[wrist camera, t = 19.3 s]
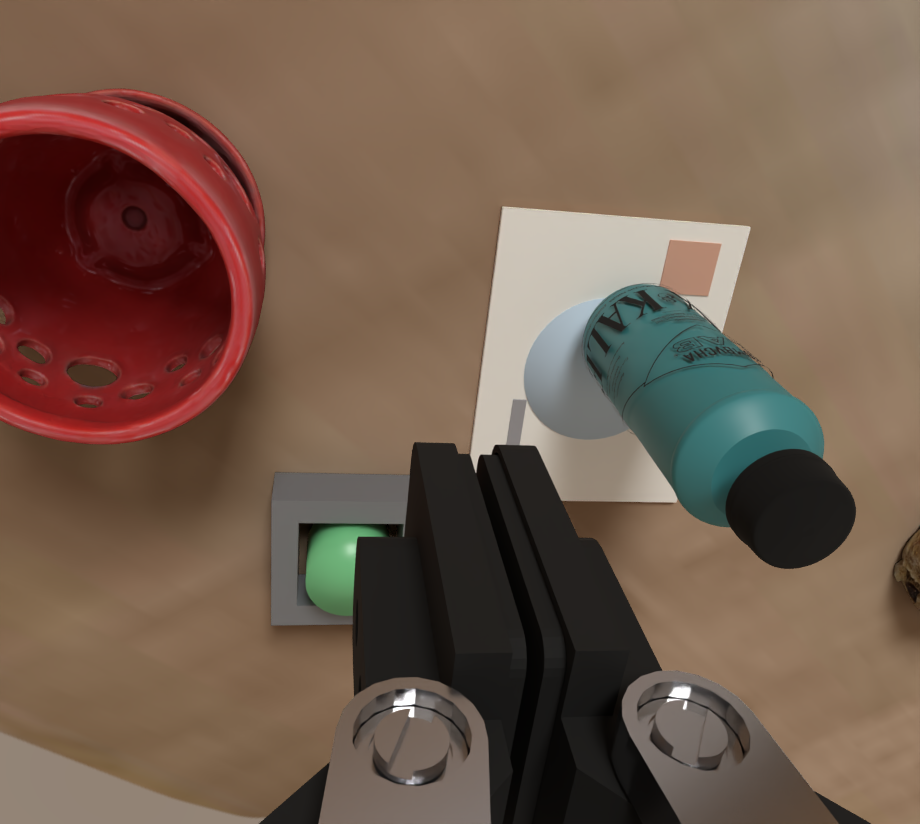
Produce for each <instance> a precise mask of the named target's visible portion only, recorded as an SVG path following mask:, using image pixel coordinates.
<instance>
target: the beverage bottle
mask: <svg viewBox="0 0 920 824" xmlns="http://www.w3.org/2000/svg"><path fill="white" fill-rule="evenodd" d="M651 284H655V283H642V284H635V285H630V286H627V287H624V288H621V289H619V290H617V291H615V292H613V293H612V294H610V295H609V296H608V297H606V298H605V299H604V300H603V301H602V302H601V303H600V304H599V305H598V306H597V307H596V308H595V310H594V311H593V313H592V314H591V316H590V318H589V320H588V322H587V325H586V328H585V331H584V335H583V337H584V338H583V340H582V343H583V350H584V357H585V358H584V359H585V360H586V361H585V362H587V365H588V366H589V367H588V368H590V370H591V371H592V373H593V374H594V377H595V378H596V380H598V382H599V383H600V385H601V386H602V387H601V388H602V389H601V390H602V391H603V389H604V391H603V393H604V395H605V392H606V395H607V396H608V398H610V402H611V401H612V402H611V403H613V404H614V406H615V407H616V408H615V407H614V406H613V407H614V408H615V409H617V410H618V412H619V414H618V415H621V416H622V422H624V421H625V422H626V423H627V425H628V427H629V428H630V429H631V430H632V431H633V432H634V433H635V434H634V435H636V436H637V438H638V439H639V441H640V442H641V443H642V445H643V446H644V448H645V449H646V451H647V452H648V454H649V455H650V456H651V458H652V459H653V461H654V462H655V464H656V465H657V467H658V468H659V470H660V471H661V472H662V474H663V475H664V477H665V478H666V480H667V481H668V483H669V484H670V485H671V487H672V488H673V490H674V492H675V494H676V496H677V498H678V500H679V501H680V503H681V504H682V506H683V507H684V508H685V509H686V510H687V511H688V512H689V513H690V514H691V515H693V516H694V517H696V518H697V519H699V520H701V521H703V522H706V523H708V524H711V525H715V526H720V527H731V529H732V530H733V531H734V532H735V534H736V535H737V536H738V537H739V538H740V540H741V541H743V542H744V543H745V544H746V545H748V546H749V547H750V548H751V550H752V551H753V552H754V553H755V554H756V555H757V556H758V557H759V558H760V559H761V560H763V561H764V562H766V563H768V564H769V565H771V566H774V567H778V568H784V569H794V568H801V567H805V566H808V565H812V564H814V563H816V562H818V561H820V560H822V559H824V558H826V557H827V556H829V555H830V554H831V553H833V552H834V551H835V550H836V549H837V548H838V547H839V546H840V545H841V544H842V543H843V542H844V541H845V539H846V538H847V536H848V535H849V533H850V531H851V529H852V527H853V524H854V521H855V516H856V507H855V502H854V499H853V497H852V495H851V493H850V491H849V490H848V488H847V487H846V486H845V485H844V484H843V483H842V481H841V480H840V479H839V478H838V477H837V476H836V474H835V472H834V471H833V469H832V468H831V467H830V466H829V465H828V464H827V463H826V462H825V461H824V460H823V453H824V438H823V432H822V429H821V426H820V424H819V422H818V419H817V418H816V416H815V415H814V413H813V412H812V411H811V410H810V408H809V407H808V406H807V405H805V404H804V403H803V402H802V401H800V400H799V399H797V398H795V397H794V396H792V395H791V394H790V393H789V392H788V391H787V390H785V389H784V388H783V387H782V386H781V385H780V384H779V383H777V382H776V381H775V380H774V378H772V377H773V374H772V377H771V376H770V375H769V374H768V373H767V372H766V371H765V370H764V369H763V368H762V367H760V366H759V365H761V364H757V363H756V362H755V361H753V360H752V359H751V358H752V356H751V354H749V353H750V352H748V351H747V352H748V354H749V355H750V356H751V358H750V356H749V355H748V354H747V353H746V352H745V351H742V350H741V349H739V348H738V347H737V346H736V345H735V344H734V342H733V343H732V340H731V341H730V340H729V339H728V338H727V337H725V336H724V335H725V334H724V335H723V333H721V331H720V330H719V329H718V328H717V327H716V326H715V325H716V324H715V323H713V322H711V320H709V319H708V318H709V317H708V318H707V317H706V315H705V314H704V313H703V314H704V315H703V314H702V313H701V311H700V310H698V309H697V308H696V307H695V306H694V305H692V304H691V302H690V301H688V300H687V299H686V300H687V301H686V300H685V299H683V298H682V297H680V296H679V295H677V294H676V293H675V292H672V291H670V290H668V289H669V288H668V289H666V288H665V287H661V286H656V285H651ZM659 285H661V284H659ZM673 291H674V290H673ZM677 293H678V292H677ZM679 294H680V293H679ZM683 297H684V296H683ZM684 298H685V297H684ZM685 301H686V302H687V303H689V305H688V304H687V303H686V302H685ZM691 305H692V306H693V307H694V309H695V308H696V310H698V311H699V312H700V313H701V314H702V315H703V316H704V318H703V317H702V316H701V315H700V314H699V313H698V312H696V310H694V309H693V308H692V307H691ZM705 318H706V319H707V320H708V321H709V322H710V323H711V324H710V323H709V322H708V321H707V320H706V319H705ZM714 324H715V325H714ZM726 336H727V335H726ZM737 344H738V343H737ZM739 345H740V344H739ZM741 347H742V346H741ZM742 348H744V347H742ZM745 353H746V354H747V355H746V354H745ZM582 355H583V354H582ZM753 357H754V356H753ZM753 359H755V358H753ZM755 360H756V359H755ZM756 361H759V360H758V359H757V360H756ZM584 364H585V363H584ZM762 366H764V365H762ZM768 369H769V368H768ZM590 370H589V372H590ZM769 370H770V369H769ZM587 371H588V370H587ZM590 373H591V372H590ZM771 373H772V372H771ZM591 375H592V374H591ZM592 378H593V377H592ZM598 382H597V383H598ZM621 416H620V417H621ZM623 420H624V421H623ZM620 421H621V420H620ZM625 422H624V423H625ZM622 424H623V423H622ZM630 433H631V432H630ZM632 434H633V433H632Z"/></svg>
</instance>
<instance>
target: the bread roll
mask: <svg viewBox="0 0 920 824" xmlns="http://www.w3.org/2000/svg"><path fill="white" fill-rule="evenodd" d="M894 575H895V578H896V580H897V582H898V581H902V582H903V585H904V587H905V588H906V590H907V592H908V594H909V596H910V597H911V600H912V601H913V603H914V604H915V606H916V607H917V608H918V609H919V611H920V529H919V530H918V531H917V532H916V533H915V534H914V535H913V536H912V537H911V539H910V540H909V541H908V543H907V544H906V546H905V548H904V550H903V554H902V559H901V560H900V561H899V562H898V563H896V564H895V568H894Z"/></svg>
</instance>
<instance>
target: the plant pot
mask: <svg viewBox="0 0 920 824" xmlns="http://www.w3.org/2000/svg"><path fill="white" fill-rule="evenodd" d="M264 241H265V217H264V210H263V205H262V201H261V197H260V193H259V190H258V187H257V184H256V182H255V179H254V177H253V175H252V173H251V171H250V169H249V167H248V165H247V163H246V162H245V160H244V159H243V157H242V156H241V154H240V153H239V151H238V150H237V149H236V148H235V146H234V145H233V144H232V143H231V142H230V141H229V140H228V138H227V137H226V136H225V135H224V134H223V133H222V132H221V131H220V130H218V129H217V128H216V127H215V126H214V125H213V124H211V123H210V122H209V121H208V120H206V119H205V118H203V117H202V116H200V115H199V114H198V113H196V112H194V111H193V110H191V109H189V108H187V107H185V106H184V105H182V104H180V103H177V102H175V101H173V100H171V99H168V98H165V97H162V96H159V95H156V94H152V93H148V92H143V91H138V90H131V89H105V90H97V91H92V92H88V93H71V94H55V95H45V96H34V97H24V98H19V99H15V100H10V101H7V102H3V103H0V307H1V309H2V310H3V312H4V314H5V317H6V323H5V324H1V323H0V420H1V421H3V422H5V423H7V424H9V425H11V426H14V427H16V428H19V429H22V430H24V431H27V432H30V433H34V434H37V435H40V436H44V437H47V438H52V439H56V440H60V441H67V442H76V443H84V444H120V443H127V442H134V441H140V440H144V439H147V438H151V437H154V436H157V435H160V434H163V433H166V432H168V431H171V430H173V429H175V428H177V427H179V426H181V425H183V424H185V423H187V422H189V421H190V420H192V419H193V418H195V417H196V416H198V415H199V414H201V413H202V412H203V411H205V410H206V409H207V408H208V407H209V406H211V405H212V404H213V403H214V402H215V401H216V400H217V399H218V398H219V397H220V396H221V395H222V394H223V393H224V392H225V390H226V389H227V388H228V386H229V385H230V384H231V383H232V381H233V379H234V378H235V376H236V375H237V373H238V371H239V369H240V368H241V366H242V364H243V362H244V359H245V357H246V355H247V353H248V350H249V348H250V345H251V343H252V340H253V338H254V335H255V332H256V329H257V326H258V322H259V318H260V313H261V308H262V303H263V298H264V291H265V279H266V266H265V255H264ZM19 346H27V347H30V348H32V349H34V350H36V351H37V352H39V353H40V354H41V355H42V356H43V357H44V359H45V361H46V363H44V364H40V363H36V362H34V361H32V360H30V359H28V358H27V357H25V356H24V355H22V354H21V353H20V352H19V350H18V347H19ZM217 347H218V348H217ZM216 348H217V349H216ZM215 349H216V350H215ZM214 350H215V351H214ZM213 351H214V352H213ZM212 352H213V353H212ZM211 353H212V354H211ZM80 364H87V365H94V366H99V367H102V368H105V369H107V370H109V371H111V372H113V373H114V374H115V375H116V377H117V379H116V381H114V382H113V383H111V384H109V385H105V386H95V387H91V386H87V385H82V384H79V383H78V382H75V381H73V380H72V379H71V377H70V376H69V375H68V373H67V370H68V369H69V368H70V367H72V366H75V365H80ZM181 364H185V365H184V366H183V367H182V368H181V369H179V370H176V371H173V372H171V371H172V370H173V369H175V368H176V367H177V366H179V365H181ZM21 377H27V378H30V379H32V380H34V381H36V382H38V383H39V384H40V385H41V386H36V385H32V384H30V383H28V382H26V381H24V380H23V379H22V378H21ZM145 393H149V394H148V395H147V396H145V397H144V398H140V399H135V400H133V399H129V398H131V397H133V396H135V395H139V394H145ZM82 404H91V405H96V406H98V407H95V408H86V407H82V406H79V405H82Z"/></svg>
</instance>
